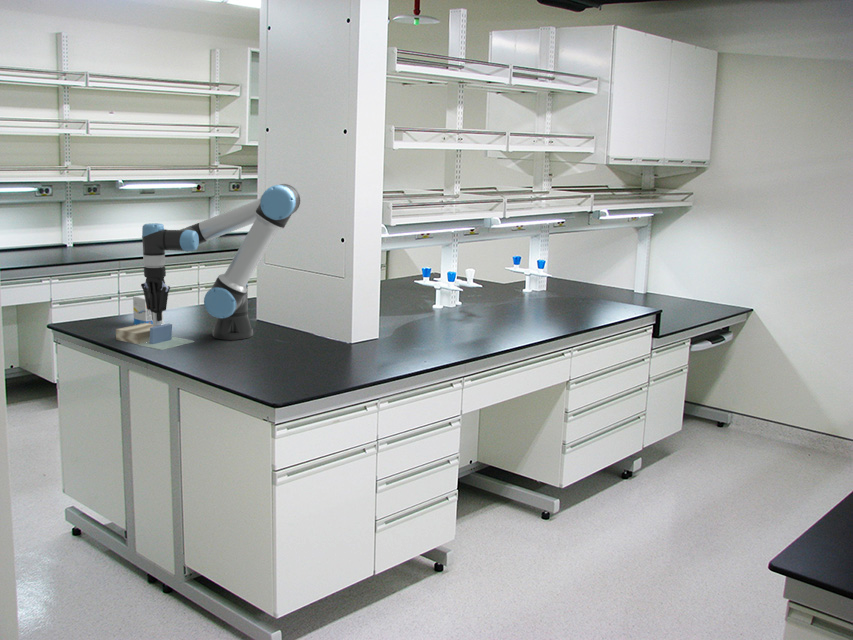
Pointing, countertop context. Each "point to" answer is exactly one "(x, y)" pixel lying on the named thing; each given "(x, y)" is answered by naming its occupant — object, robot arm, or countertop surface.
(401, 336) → the countertop surface
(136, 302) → the ink box
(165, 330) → the blue flat block
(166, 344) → the mat
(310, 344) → the countertop surface
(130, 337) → the beige flat block
